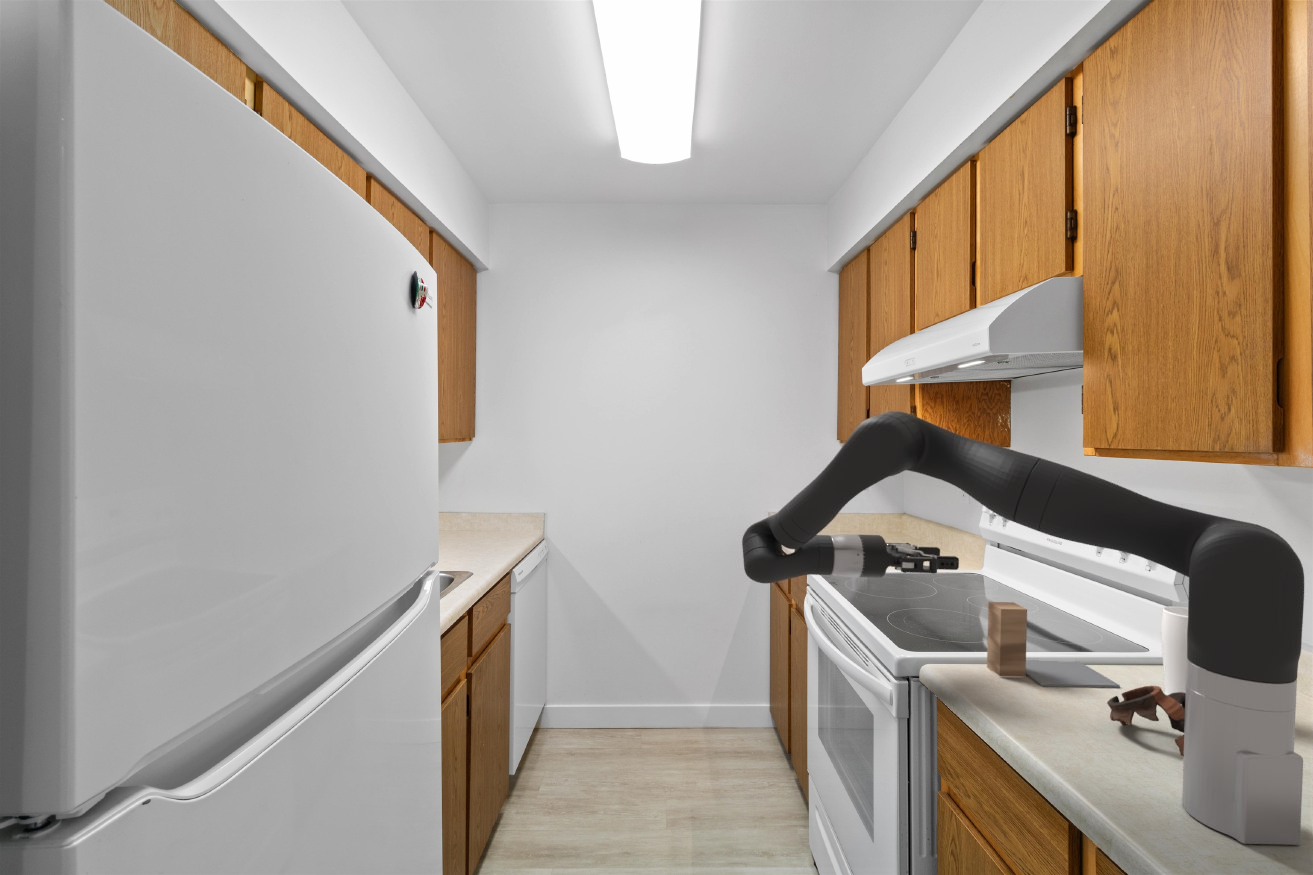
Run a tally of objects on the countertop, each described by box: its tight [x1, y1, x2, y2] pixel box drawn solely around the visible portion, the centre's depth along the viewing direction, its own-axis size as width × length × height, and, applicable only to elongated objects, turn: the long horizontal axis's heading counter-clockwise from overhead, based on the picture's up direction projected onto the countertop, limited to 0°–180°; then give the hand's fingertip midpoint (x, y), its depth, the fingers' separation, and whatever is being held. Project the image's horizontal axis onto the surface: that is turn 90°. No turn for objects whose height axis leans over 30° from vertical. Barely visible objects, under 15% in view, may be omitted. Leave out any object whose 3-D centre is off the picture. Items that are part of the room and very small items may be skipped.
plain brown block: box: [986, 601, 1028, 678], centre depth 117 cm, size 4×4×12 cm
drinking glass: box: [1160, 605, 1188, 706], centre depth 104 cm, size 7×7×15 cm
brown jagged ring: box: [1106, 685, 1186, 756], centre depth 94 cm, size 12×10×8 cm
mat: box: [1026, 660, 1121, 689], centre depth 117 cm, size 12×13×1 cm
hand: (948, 557), depth 117 cm, fingers open, 7 cm apart
